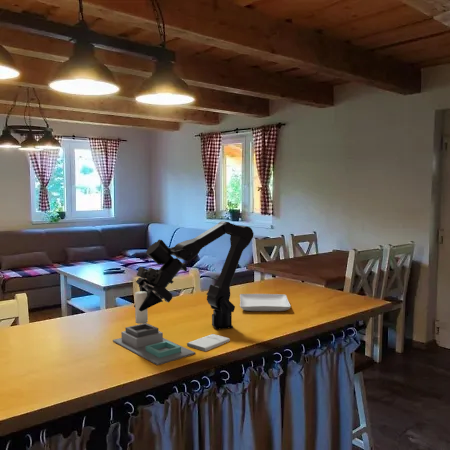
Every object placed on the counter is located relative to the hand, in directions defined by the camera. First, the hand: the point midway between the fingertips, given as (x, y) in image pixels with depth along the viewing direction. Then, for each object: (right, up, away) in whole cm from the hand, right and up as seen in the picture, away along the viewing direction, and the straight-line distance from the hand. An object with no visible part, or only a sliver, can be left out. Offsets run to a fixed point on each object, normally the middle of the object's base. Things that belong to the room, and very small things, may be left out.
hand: (137, 309), depth 156 cm
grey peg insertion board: (+5, -12, -3) cm, 14 cm away
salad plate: (+46, -8, +48) cm, 67 cm away
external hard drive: (+24, -12, +1) cm, 27 cm away
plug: (+1, -5, +1) cm, 5 cm away
